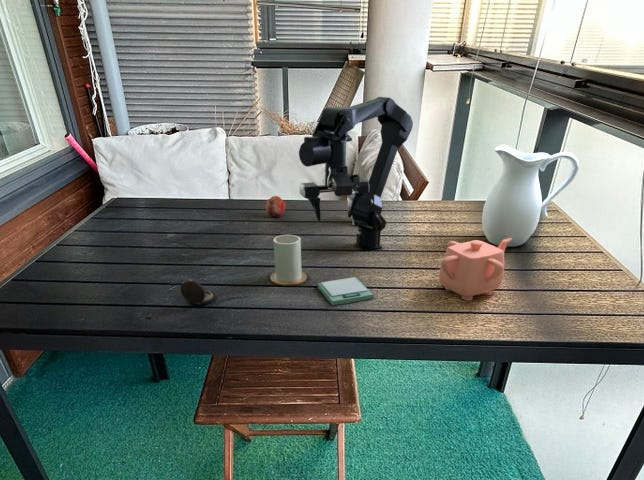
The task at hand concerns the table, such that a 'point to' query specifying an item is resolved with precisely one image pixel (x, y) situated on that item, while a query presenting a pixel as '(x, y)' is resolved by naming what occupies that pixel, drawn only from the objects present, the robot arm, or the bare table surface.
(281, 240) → the cup
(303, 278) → the coaster
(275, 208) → the pomegranate
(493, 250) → the teapot
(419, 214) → the table surface
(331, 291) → the scale
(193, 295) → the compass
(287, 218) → the table surface
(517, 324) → the table surface
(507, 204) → the pitcher
